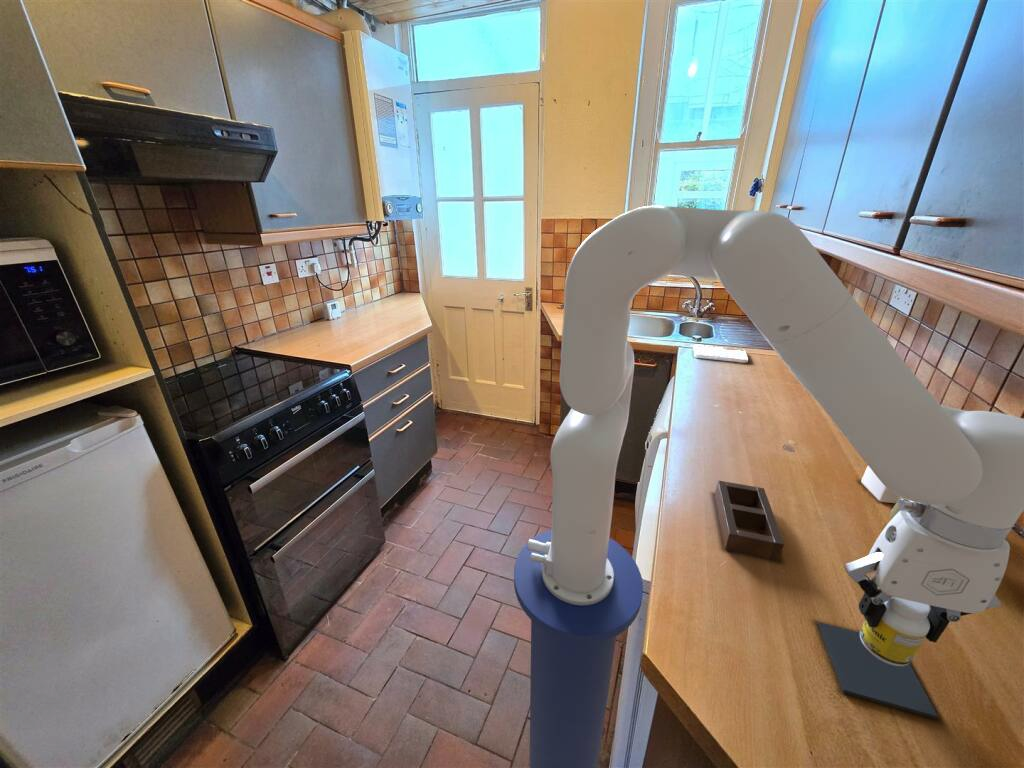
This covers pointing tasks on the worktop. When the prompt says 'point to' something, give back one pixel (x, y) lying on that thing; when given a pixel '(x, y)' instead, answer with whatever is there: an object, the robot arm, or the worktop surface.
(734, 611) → the worktop surface
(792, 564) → the worktop surface
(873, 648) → the supplement bottle
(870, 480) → the medicine bottle
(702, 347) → the white flat block
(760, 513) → the rack
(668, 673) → the worktop surface
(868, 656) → the mat
